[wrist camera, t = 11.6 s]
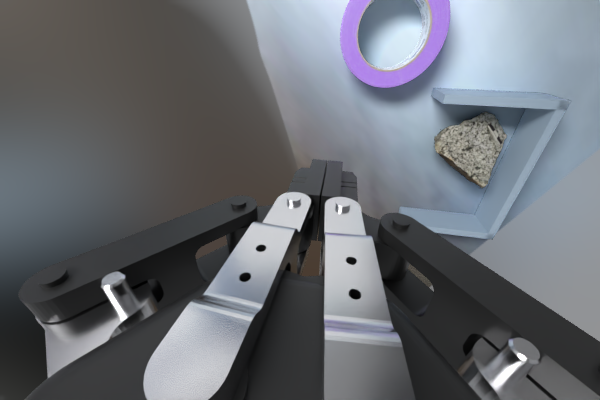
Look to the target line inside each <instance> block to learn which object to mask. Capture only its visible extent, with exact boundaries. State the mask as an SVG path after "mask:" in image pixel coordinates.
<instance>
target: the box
mask: <svg viewBox="0 0 600 400" xmlns="http://www.w3.org/2000/svg"><path fill="white" fill-rule="evenodd" d="M431 96H432V97H434V98H435V99H437V100H438V101H440V102H441V103H443V104H460V105H479V106H498V107H516V108H526V109H525V111H524V114H523V116H522V118H521V120H520V122H519V124H518V126H517V128H516V130H515V132H514V134H513V136H512V138H511V140H510V142H509V144H508V147H507V149H506V151H505V153H504V155H503V157H502V159H501V161H500V163H499V165H498V167H497V169H496V171H495V173H494V175H493V177H492V180H491V182H490V184H489V186H488V188H487V190H486V192H485V194H484V196H483V198H482V200H481V202H480V204H479V206H478V208H477V210H476V213H475V215H474V214H465V213H455V212H446V211H437V210H427V209H418V208H409V207H400V209H399V213H400V214H404V215H407V216H410V217H412V218H413V219H415V220H416V221H418V222H419V223H421V224H423V225H424V226H426V227H427V228H429V229H430V230H432V231H433V232H435V233H442V234H450V235H459V236H467V237H476V238H484V239H493V238H494V236H495V234H496V233H497V231H498V229H499V227H500V226H501V224H502V222H503V220H504V218H505V217H506V215H507V213H508V211H509V210H510V208H511V206H512V204H513V203H514V201H515V199H516V197H517V196H518V194H519V192H520V190H521V189H522V187H523V185H524V183H525V182H526V180H527V178H528V176H529V175H530V173H531V171H532V169H533V168H534V166H535V164H536V162H537V161H538V159H539V157H540V155H541V154H542V152H543V150H544V148H545V147H546V145H547V143H548V141H549V139H550V138H551V136H552V134H553V132H554V131H555V129H556V127H557V125H558V124H559V122H560V120H561V118H562V117H563V115H564V113H565V111H566V110H567V108H568V106H569V104H570V103H571V100H567V99H563V98H559V97H556V96H552V95H548V94H544V93H532V92H510V91H488V90H467V89H445V88H433V92H432V95H431Z"/></svg>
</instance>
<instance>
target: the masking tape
mask: <svg viewBox="0 0 600 400" xmlns="http://www.w3.org/2000/svg"><path fill="white" fill-rule="evenodd" d="M374 1H375V0H350V1H349V3H348V5H347V7H346V10H345V13H344V16H343V19H342V24H341V33H340V42H341V49H342V53H343V57H344V60H345V62H346V64H347V66H348V68H349V69H350V71H351V72H352V73H353V74H354V75H355V76H356V77H357V78H358V79H359V80H361V81H362V82H364V83H366V84H368V85H371V86H374V87H380V88H390V87H396V86H399V85H402V84H405V83H407V82H409V81H411V80H413V79H414V78H416V77H417V76H419V75H420V74H421V73H422V72H424V71H425V70H426V69H427V68H428V67H429V66H430V65H431V63H432V62H433V61H434V59H435V58H436V57H437V55H438V53H439V52H440V50H441V48H442V46H443V44H444V41H445V39H446V36H447V32H448V29H449V22H450V2H449V0H413V1H414V2H415V3H416V5H417V6H418V8H419V10H420V14H421V19H422V29H421V34H420V38H419V40H418V43H417V45H416V47H415V48H414V50H413V51H412V53H411V54H410V55H409V56H408V57H407V58H406V59H405V60H403V61H402V62H401V63H399V64H397V65H394V66H391V67H386V68H381V67H376V66H373V65H371V64H370V63H368V62H367V61H366V60H365V58H364V57H363V55H362V53H361V51H360V48H359V44H358V30H359V25H360V21H361V18H362V16H363V14H364V12H365V11H366V9H367V8H368V7H369V6H370V5H371V4H372V3H373V2H374Z"/></svg>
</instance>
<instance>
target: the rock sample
mask: <svg viewBox="0 0 600 400" xmlns="http://www.w3.org/2000/svg"><path fill="white" fill-rule="evenodd" d="M440 130H441V129H440ZM506 137H507V135H506V134H505V133H504V131H503V129H502V127H501V126H500V124H499V123H498V119H496V117H495V115H493V114H490V113H488V112H484V113H481V114H480V115H479V116H476V117H474V118H473V119H471V120H465V121H463V122H462V123H461V124H459V125H454V126H449V127H447V128H445V129H443V130H442V131H440V133H439V134H438V135H437V136H435V138H434V140H435V150H436V152H437V153H438V154H440V156H441V157H442V158H443V159H445V160H446V162H447V163H448V164H449V165H450V166H452V167H453V168H454V169H455V170H456V171H458V172H459V173H460V174H461V175H463V176H465V177H466V179H467V180H469V181H470V182H473V183H475V184H477V185H478V186H480V188H483V187H485V186H486V185H487V184H488V180H489V178H490V176H491V172H492V169H493V167H494V165H495V162H496V160H497V158H498V156H499V154H500V152H501V150H502V147H503V143H504V140H505V138H506Z"/></svg>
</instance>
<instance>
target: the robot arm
mask: <svg viewBox="0 0 600 400" xmlns="http://www.w3.org/2000/svg"><path fill="white" fill-rule="evenodd" d="M342 163H343V162H340V161H328V165H327V160H316V159H313V160H312V163H311V167H310V168H300V169H299V170H297V171H296V173H295V175H294V178H293V180H292V182H291V184H290V187H289V189H288V192H287V193H284V194H282V195H280V196H279V197H278V199H277V200H276V202H275V203H274V205H270V206H259V207H257V202H256V200H254V199H253V198H252V197H249V196H234V197H231V198H228V199H225V200H223V201H220V202H218V203H215V204H212V205H209V206H207V207H204V208H202V209H199V210H196V211H194V212H191V213H188V214H186V215H183V216H180V217H178V218H175V219H173V220H170V221H167V222H165V223H162V224H159V225H157V226H154V227H151V228H149V229H146V230H144V231H141V232H138V233H136V234H133V235H130V236H128V237H125V238H122V239H120V240H117V241H115V242H112V243H109V244H107V245H104V246H101V247H99V248H96V249H93V250H91V251H88V252H86V253H83V254H80V255H78V256H75V257H72V258H70V259H67V260H64V261H62V262H59V263H57V264H54V265H51V266H49V267H47V268H45V269H43V270H41V271H39V272H38V273H36V274H35V275H33V276H32V277H31V278H30V279H28V280H27V281H26V282H25V283H24V284H23V285H22V287H21V288H20V291H19V295H18V296H19V298H20V300H21V301H22V302H23V303H24V304H25V305H26V306H27V307H28V308H29V309H30V311H31V312H33V314H34V315H35V316H36V320H37V321H38V322H39V323H40V324H41V326H42V327H43V328H44V329H45V337H46V354H47V371H48V379H46V380H45V381H44V382H43V383H42V384H41V385H39V386H38V387H37V388H36V389H35V390H34V391H33V392H32V393H31V394H30V395H29V396H28V397H27V398H26V399H25V400H600V342H599V341H598V340H596V339H595V338H593V337H592V336H590V335H589V334H587V333H586V332H584V331H583V330H581V329H580V328H578V327H577V326H575V325H574V324H572V323H571V322H569V321H568V320H566V319H565V318H563V317H562V316H560V315H559V314H557V313H556V312H554V311H552V310H551V309H549V308H548V307H546V306H545V305H543V304H542V303H540V302H539V301H537V300H536V299H534V298H533V297H531V296H530V295H528V294H527V293H525V292H524V291H522V290H521V289H519V288H518V287H516V286H515V285H513V284H512V283H510V282H509V281H507V280H506V279H504V278H503V277H501V276H499V275H498V274H497V273H495V272H494V271H492V270H491V269H489V268H488V267H486V266H484V265H483V264H481V263H480V262H478V261H477V260H475V259H474V258H472V257H471V256H469V255H468V254H466V253H465V252H463V251H462V250H460V249H459V248H457V247H456V246H454V245H453V244H451V243H450V242H448V241H447V240H445V239H444V238H442V237H441V236H439V235H438V234H436V233H435V232H433V231H432V230H430V229H429V228H427V227H426V226H424V225H423V224H421V223H419V222H418V221H416V220H415V219H413V218H412V217H410V216H407V215H404V214H400V213H388V214H385V215H384V216H382V217H381V220H378V219H375V218H372V217H370V216H367V215H366V214H364V213H363V212H362V211H361V207H360V205H359V204H358V198H357V177H356V176H355V175H354V174H353V173H352V172H345V171H342ZM318 229H319V235H318ZM225 235H226V239H227V245H225V246H223V247H221V248H219V249H217V250H215V251H213V252H211V253H209V254H207V255H205V256H203V257H201V258H199V259H196V258H195V255H196V252H197V250H198V249H199V248H200V247H201V246H204V245H205V244H208V243H210V242H212V241H214V240H216V239H218V238H220V237H223V236H225ZM317 235H318V241H322V244H321V255H320V276H308V277H306V276H301V275H302V272H303V269H304V266H305V263H306V259H307V256H308V252H309V251H308V250H309V246H310V243H311V240H315V241H316V240H317ZM409 263H410V264H411V265H412V266H413V267H415V268H416V269H417V270H418V271H419V272H421V273H422V274H423V275H424V276H425V277H427V278H428V279H429V280H430V282H431V283H432V285H433V288H434V292H433V291H432V290H431V289H430V288H429V287H428V286H426V285H425V284H424V283H423V282H422V281H421V280H419V279H418V278H417V277H416V276H415V275H414V274H412V273H411V272H410V271H409V270H408V266H409ZM386 298H387V299H386Z"/></svg>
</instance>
